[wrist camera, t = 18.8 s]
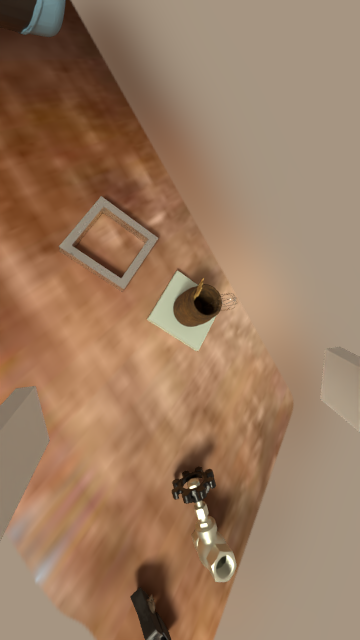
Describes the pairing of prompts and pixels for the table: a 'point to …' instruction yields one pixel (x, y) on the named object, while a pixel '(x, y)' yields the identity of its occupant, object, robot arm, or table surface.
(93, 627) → the table surface
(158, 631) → the lighter
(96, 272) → the grey square frame
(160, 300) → the green tile
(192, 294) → the utensil holder
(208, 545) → the valve
